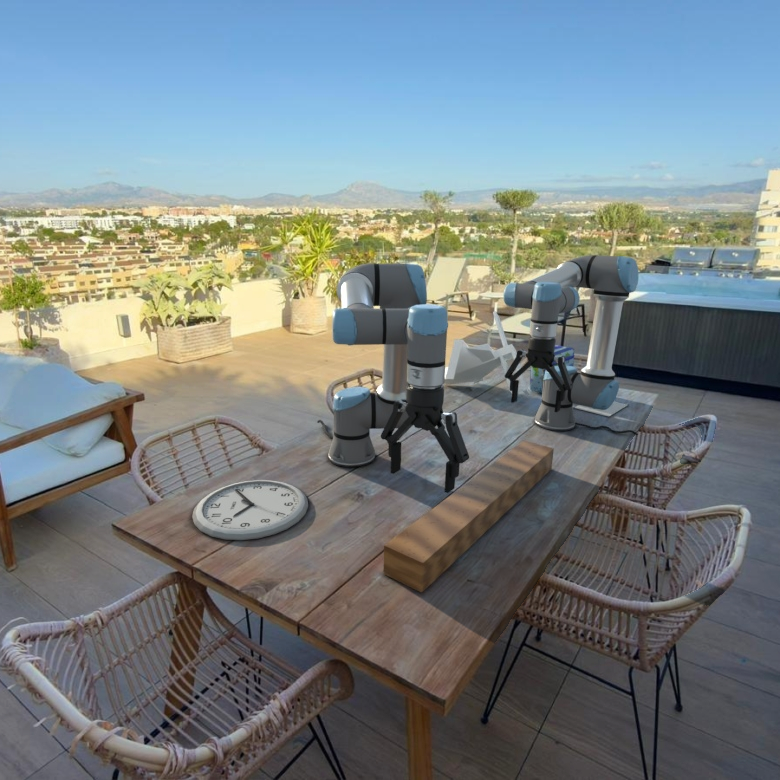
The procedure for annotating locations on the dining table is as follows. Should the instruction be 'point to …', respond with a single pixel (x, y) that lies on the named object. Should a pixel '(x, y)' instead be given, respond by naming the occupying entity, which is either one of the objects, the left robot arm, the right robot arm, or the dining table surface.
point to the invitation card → (608, 412)
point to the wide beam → (464, 516)
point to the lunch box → (538, 373)
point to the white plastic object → (480, 361)
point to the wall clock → (250, 510)
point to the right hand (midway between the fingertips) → (535, 406)
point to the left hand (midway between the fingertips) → (421, 480)
